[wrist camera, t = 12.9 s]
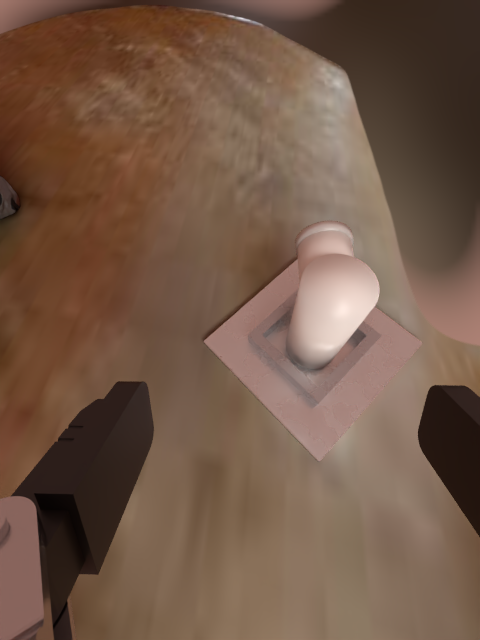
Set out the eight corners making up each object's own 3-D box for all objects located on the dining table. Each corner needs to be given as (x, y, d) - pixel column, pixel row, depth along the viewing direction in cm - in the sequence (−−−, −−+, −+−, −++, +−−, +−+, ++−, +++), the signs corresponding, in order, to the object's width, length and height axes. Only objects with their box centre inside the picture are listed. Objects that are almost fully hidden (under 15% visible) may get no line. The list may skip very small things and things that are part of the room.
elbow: (339, 369, 30) (385, 320, 19) (286, 368, 30) (302, 320, 19) (331, 292, 34) (366, 213, 23) (284, 292, 34) (296, 215, 23)
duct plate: (204, 343, 33) (200, 334, 30) (303, 257, 37) (306, 242, 34) (317, 461, 27) (323, 462, 25) (419, 345, 31) (433, 335, 29)
